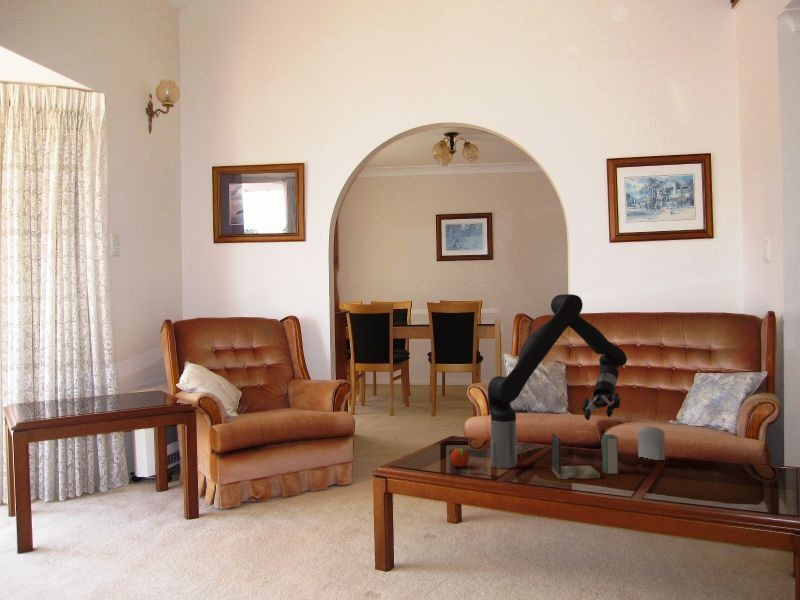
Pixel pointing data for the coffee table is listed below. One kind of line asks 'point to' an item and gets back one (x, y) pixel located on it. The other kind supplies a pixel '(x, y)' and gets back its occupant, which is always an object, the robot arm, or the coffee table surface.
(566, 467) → the desktop book rack
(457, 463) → the tomato
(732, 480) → the coffee table surface
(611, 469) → the tall sage green prism
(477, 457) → the coffee table surface
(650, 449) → the photo printer
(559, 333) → the robot arm
